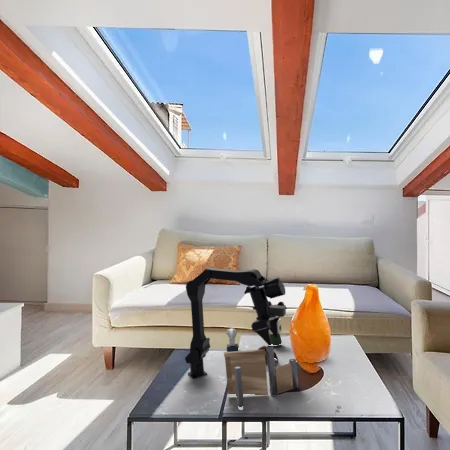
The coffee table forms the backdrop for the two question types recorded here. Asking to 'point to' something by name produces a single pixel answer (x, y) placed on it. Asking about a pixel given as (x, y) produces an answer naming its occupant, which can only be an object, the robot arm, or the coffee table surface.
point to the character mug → (278, 340)
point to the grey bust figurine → (232, 340)
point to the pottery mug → (266, 353)
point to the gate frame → (272, 377)
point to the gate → (247, 371)
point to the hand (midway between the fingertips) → (273, 341)
